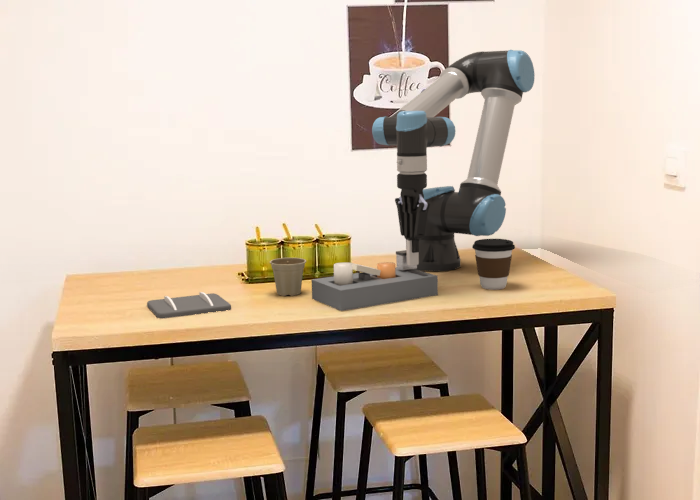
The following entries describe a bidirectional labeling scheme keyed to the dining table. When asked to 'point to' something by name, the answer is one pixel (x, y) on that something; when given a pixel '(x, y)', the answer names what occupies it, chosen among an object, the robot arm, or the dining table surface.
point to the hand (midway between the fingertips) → (412, 264)
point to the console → (375, 289)
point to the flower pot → (288, 275)
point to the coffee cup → (493, 262)
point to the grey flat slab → (187, 305)
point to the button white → (343, 274)
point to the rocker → (365, 269)
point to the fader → (403, 261)
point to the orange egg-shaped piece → (386, 270)
